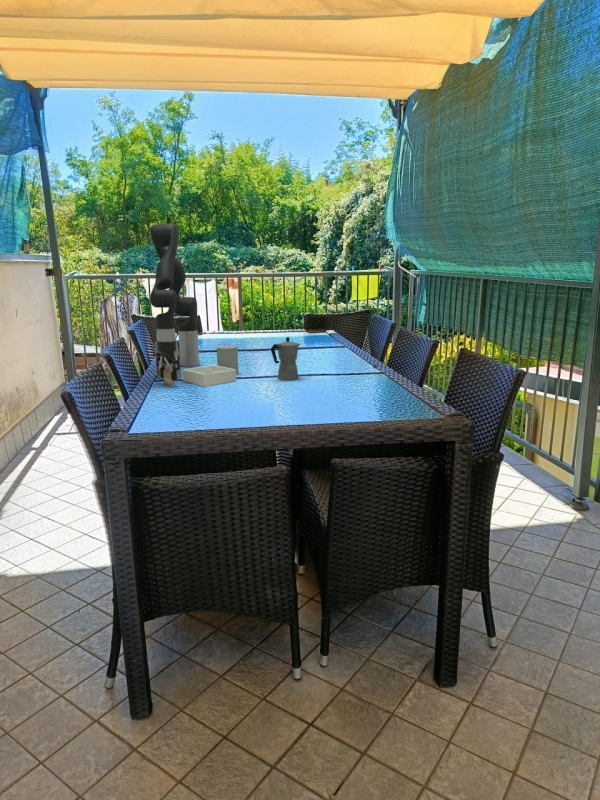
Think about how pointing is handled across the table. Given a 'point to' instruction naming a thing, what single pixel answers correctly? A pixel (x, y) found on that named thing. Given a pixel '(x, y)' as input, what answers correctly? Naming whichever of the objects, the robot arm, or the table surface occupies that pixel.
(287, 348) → the coffeepot
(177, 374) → the coffee box
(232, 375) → the box
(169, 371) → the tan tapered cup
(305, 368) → the table surface
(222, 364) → the gray cylinder
